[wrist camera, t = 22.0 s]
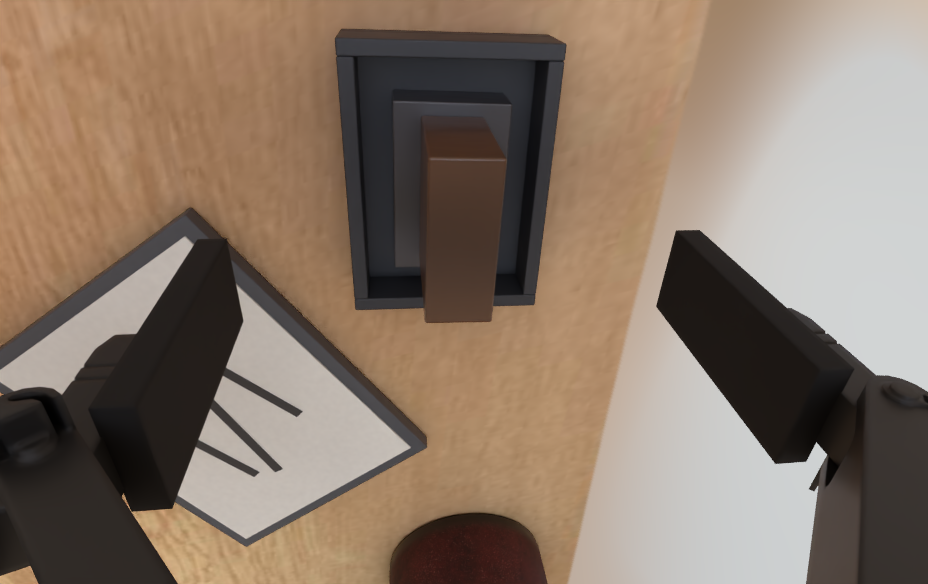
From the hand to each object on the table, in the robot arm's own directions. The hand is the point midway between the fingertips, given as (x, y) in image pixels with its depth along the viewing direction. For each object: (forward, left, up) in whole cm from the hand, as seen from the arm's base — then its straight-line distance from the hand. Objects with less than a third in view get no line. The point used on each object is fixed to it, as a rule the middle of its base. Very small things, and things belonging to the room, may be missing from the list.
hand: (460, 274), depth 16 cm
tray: (0, 0, -9) cm, 10 cm away
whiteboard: (+4, -17, -9) cm, 20 cm away
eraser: (0, 0, -9) cm, 9 cm away
